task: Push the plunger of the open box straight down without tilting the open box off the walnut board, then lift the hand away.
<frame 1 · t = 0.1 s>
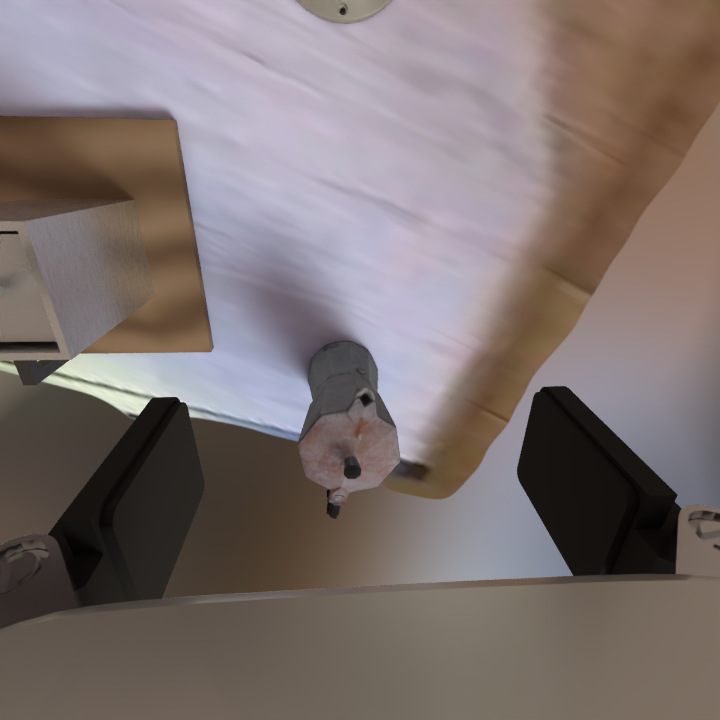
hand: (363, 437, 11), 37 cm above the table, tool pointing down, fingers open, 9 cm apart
walnut board: (102, 247, 43), on the table
moka pot: (344, 373, 52), on the table
open box: (96, 250, 42), point 1 cm above the table, touching walnut board
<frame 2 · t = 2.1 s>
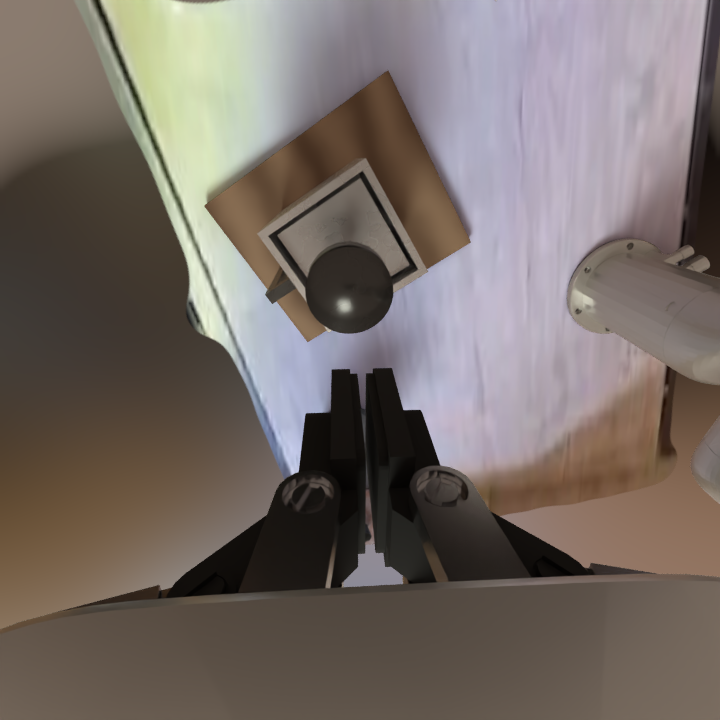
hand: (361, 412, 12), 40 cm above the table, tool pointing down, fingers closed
walnut board: (342, 223, 48), on the table
plunger: (346, 266, 28), point 22 cm above the table, slide at 0.0 cm
moka pot: (347, 430, 62), on the table
open box: (342, 224, 47), point 1 cm above the table, touching walnut board
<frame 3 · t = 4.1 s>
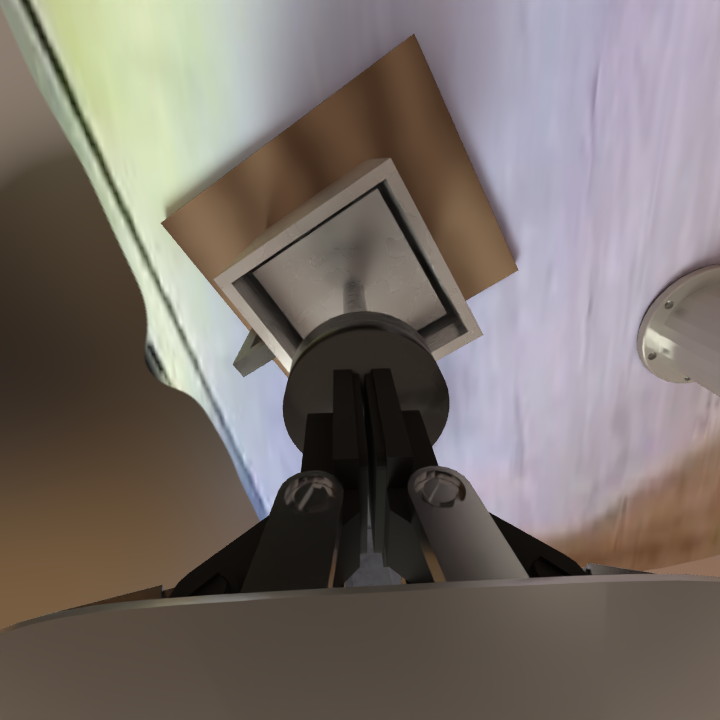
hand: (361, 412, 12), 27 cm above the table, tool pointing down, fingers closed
walnut board: (347, 245, 36), on the table
plunger: (357, 331, 18), point 20 cm above the table, slide at 1.4 cm, touching gripper
moka pot: (352, 496, 50), on the table
open box: (347, 247, 35), point 1 cm above the table, touching walnut board
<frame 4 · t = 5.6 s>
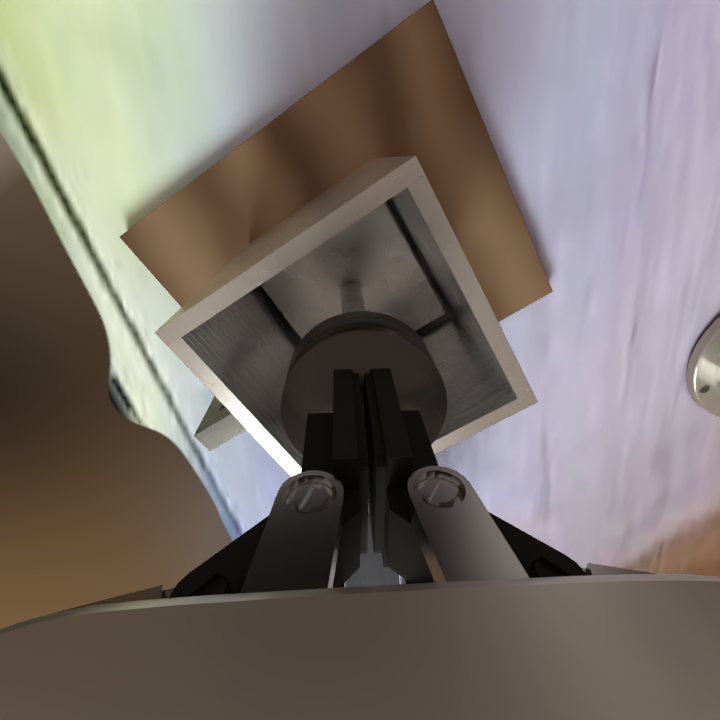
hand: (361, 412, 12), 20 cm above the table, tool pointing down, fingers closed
walnut board: (348, 261, 30), on the table
plunger: (355, 331, 18), point 14 cm above the table, slide at 8.1 cm, touching gripper
moka pot: (353, 542, 44), on the table
open box: (348, 265, 29), point 1 cm above the table, touching walnut board
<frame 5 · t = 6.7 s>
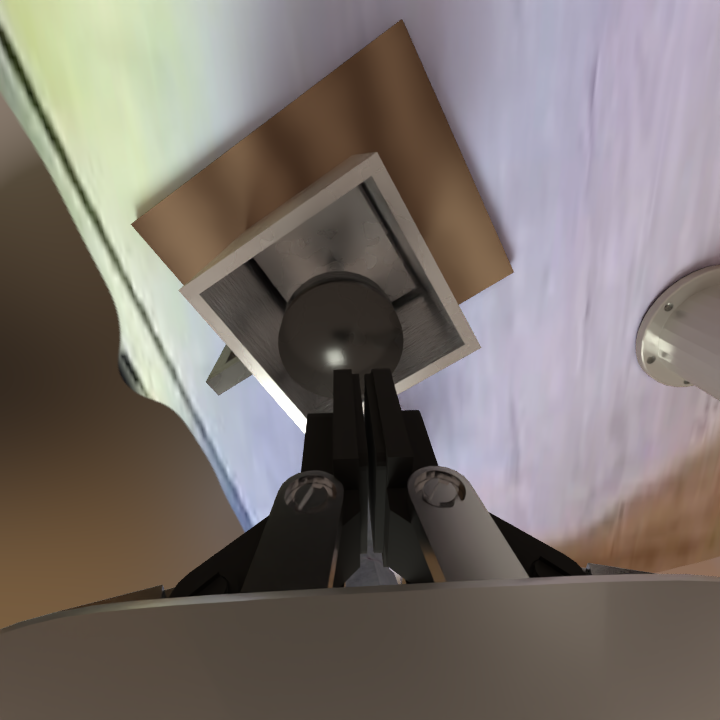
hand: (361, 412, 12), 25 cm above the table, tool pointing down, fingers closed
walnut board: (333, 246, 34), on the table
plunger: (337, 296, 22), point 14 cm above the table, slide at 8.1 cm
moka pot: (342, 507, 48), on the table
open box: (333, 249, 33), point 1 cm above the table, touching walnut board
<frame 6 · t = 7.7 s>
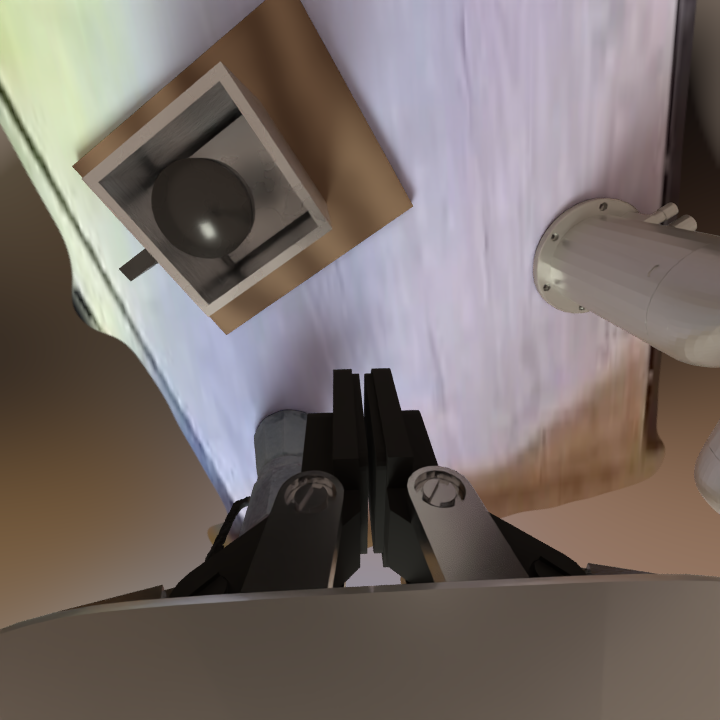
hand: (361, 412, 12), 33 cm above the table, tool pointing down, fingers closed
walnut board: (254, 186, 39), on the table
plunger: (226, 199, 27), point 14 cm above the table, slide at 8.1 cm
moka pot: (288, 438, 53), on the table
open box: (252, 187, 38), point 1 cm above the table, touching walnut board
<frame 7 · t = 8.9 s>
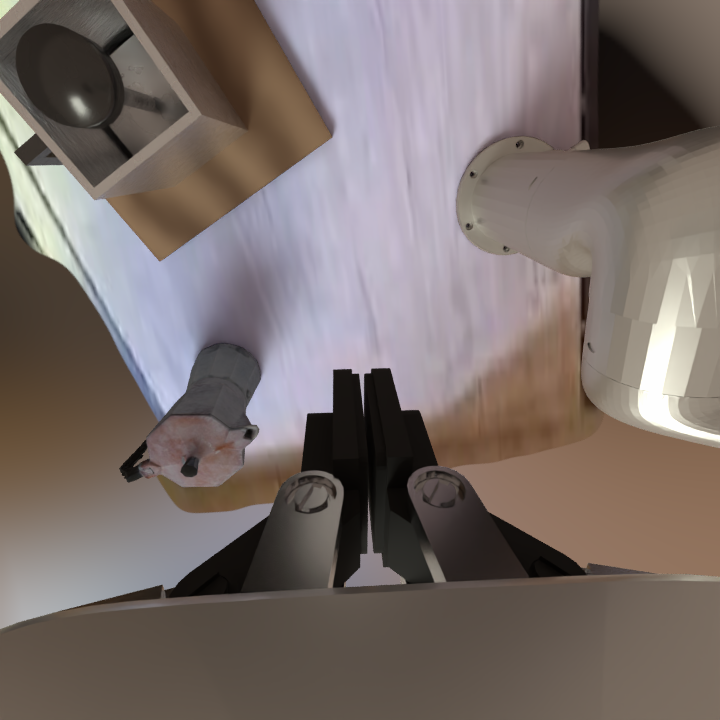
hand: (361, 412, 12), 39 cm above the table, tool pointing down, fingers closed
walnut board: (180, 113, 41), on the table
plunger: (116, 93, 29), point 14 cm above the table, slide at 8.1 cm
moka pot: (226, 373, 55), on the table
open box: (176, 111, 40), point 1 cm above the table, touching walnut board
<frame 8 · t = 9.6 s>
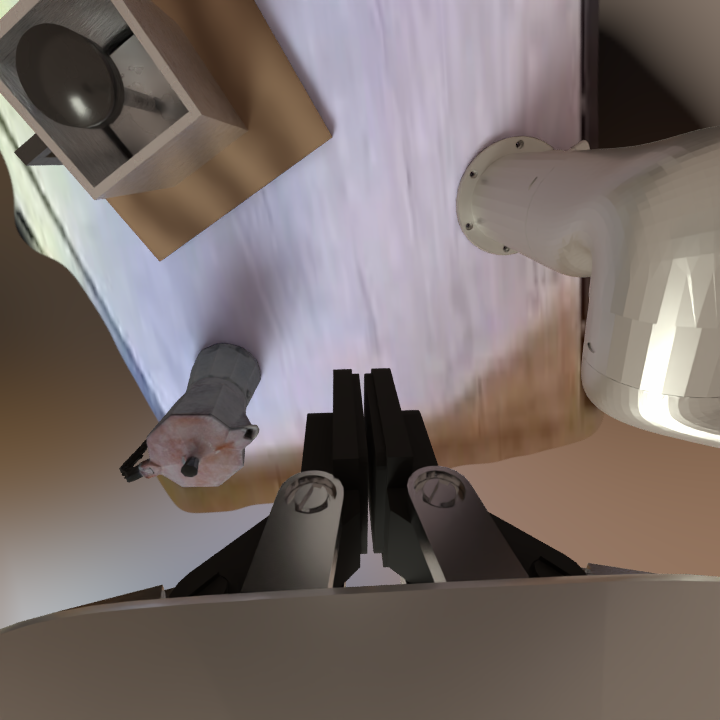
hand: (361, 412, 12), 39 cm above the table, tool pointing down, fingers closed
walnut board: (180, 113, 41), on the table
plunger: (116, 93, 29), point 14 cm above the table, slide at 8.1 cm
moka pot: (226, 373, 55), on the table
open box: (176, 111, 40), point 1 cm above the table, touching walnut board
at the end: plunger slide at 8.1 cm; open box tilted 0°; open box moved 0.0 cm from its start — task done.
